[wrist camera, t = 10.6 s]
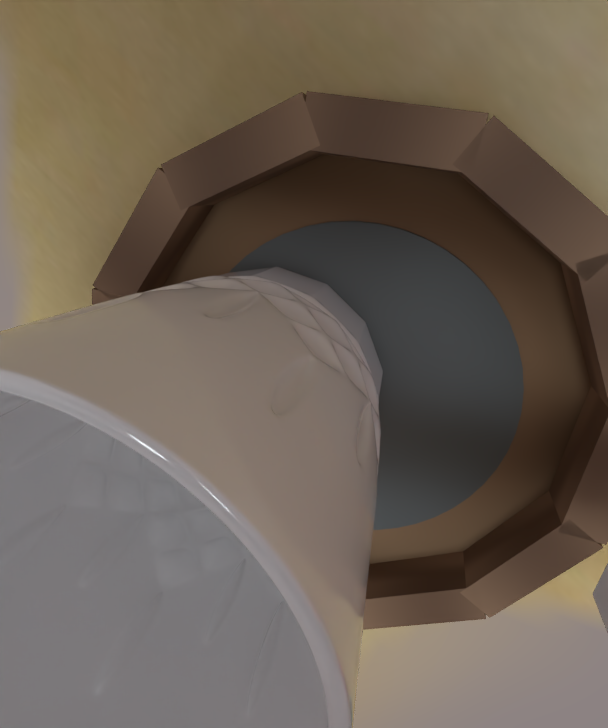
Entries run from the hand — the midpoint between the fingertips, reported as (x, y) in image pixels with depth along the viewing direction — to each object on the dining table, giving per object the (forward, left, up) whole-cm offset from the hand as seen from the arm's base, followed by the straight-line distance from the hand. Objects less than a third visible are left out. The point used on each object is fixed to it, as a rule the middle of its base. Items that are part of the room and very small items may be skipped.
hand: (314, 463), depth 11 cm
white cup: (0, -2, -4) cm, 5 cm away
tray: (0, 0, -6) cm, 6 cm away
